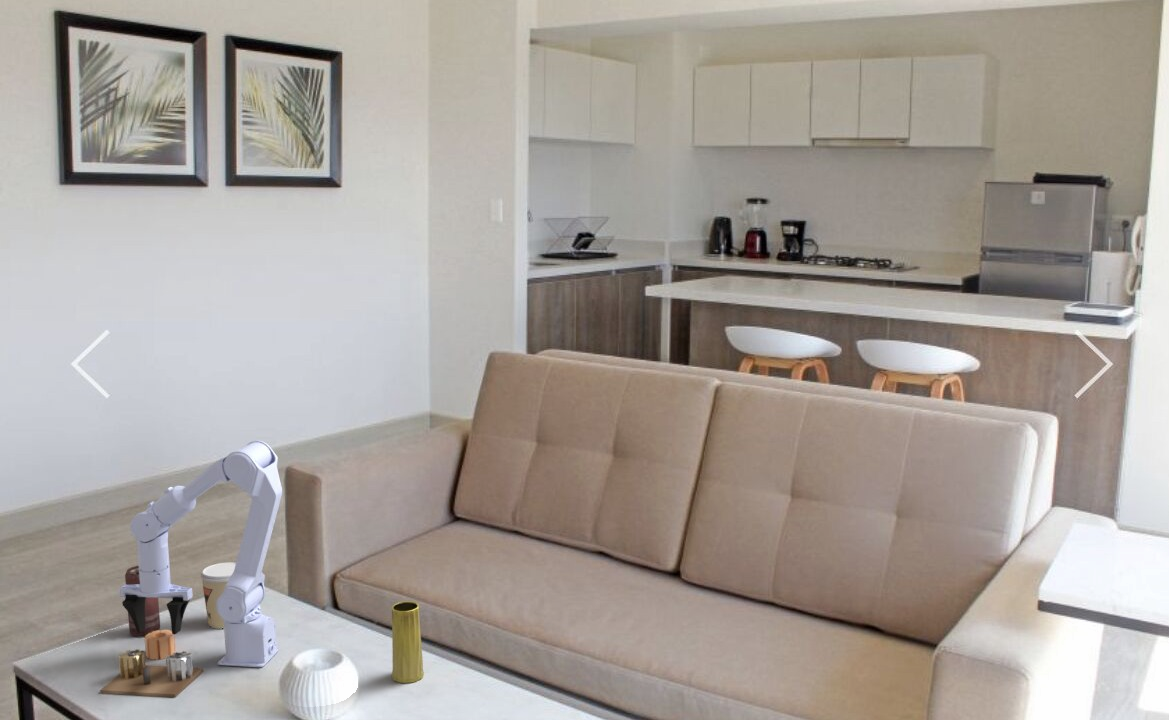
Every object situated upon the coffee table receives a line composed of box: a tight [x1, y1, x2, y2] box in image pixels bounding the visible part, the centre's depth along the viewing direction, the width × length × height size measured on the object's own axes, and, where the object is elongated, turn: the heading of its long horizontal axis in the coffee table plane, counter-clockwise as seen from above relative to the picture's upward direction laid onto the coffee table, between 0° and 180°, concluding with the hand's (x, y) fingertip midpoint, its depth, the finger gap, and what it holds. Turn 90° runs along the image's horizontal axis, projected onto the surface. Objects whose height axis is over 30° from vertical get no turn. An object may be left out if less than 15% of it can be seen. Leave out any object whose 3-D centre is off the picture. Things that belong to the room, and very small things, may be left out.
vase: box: [391, 600, 425, 684], centre depth 207 cm, size 6×6×14 cm
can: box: [124, 565, 161, 637], centre depth 229 cm, size 6×6×14 cm
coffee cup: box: [200, 561, 236, 630], centre depth 234 cm, size 9×9×12 cm
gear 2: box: [165, 650, 194, 682], centre depth 207 cm, size 5×5×4 cm
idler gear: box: [144, 629, 177, 661], centre depth 219 cm, size 5×5×4 cm
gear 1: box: [118, 649, 147, 679], centre depth 208 cm, size 5×5×4 cm
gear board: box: [99, 664, 205, 698], centre depth 206 cm, size 15×11×4 cm
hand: (158, 631), depth 218 cm, fingers open, 7 cm apart
